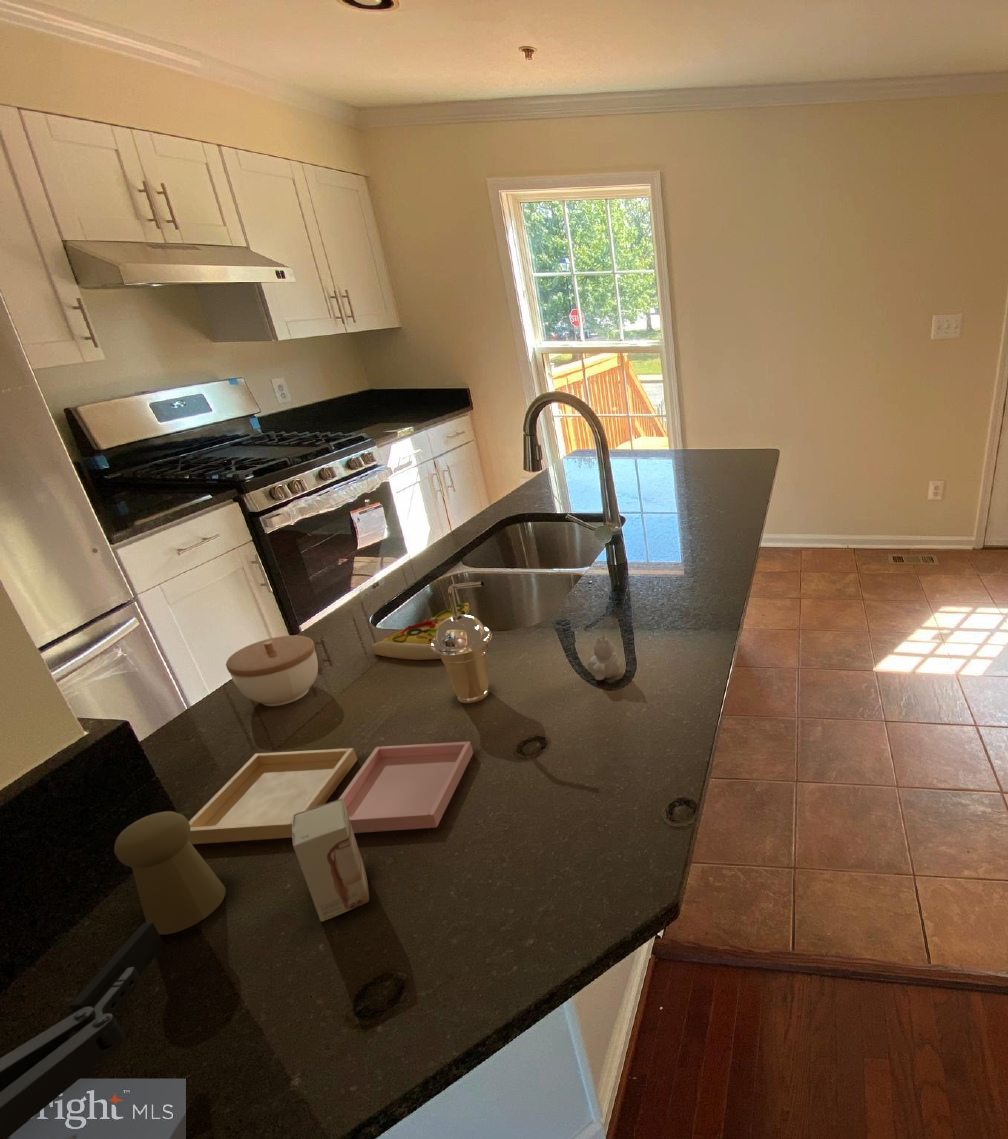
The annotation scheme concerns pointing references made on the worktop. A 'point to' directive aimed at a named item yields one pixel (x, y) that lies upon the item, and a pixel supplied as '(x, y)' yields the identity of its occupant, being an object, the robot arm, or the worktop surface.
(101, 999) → the robot arm
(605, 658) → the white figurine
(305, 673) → the trinket box
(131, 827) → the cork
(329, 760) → the birch tray
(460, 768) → the pink tray
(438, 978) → the worktop surface
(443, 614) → the pizza slice
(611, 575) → the worktop surface
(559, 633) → the worktop surface
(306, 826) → the white carton
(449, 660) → the cup with straw
